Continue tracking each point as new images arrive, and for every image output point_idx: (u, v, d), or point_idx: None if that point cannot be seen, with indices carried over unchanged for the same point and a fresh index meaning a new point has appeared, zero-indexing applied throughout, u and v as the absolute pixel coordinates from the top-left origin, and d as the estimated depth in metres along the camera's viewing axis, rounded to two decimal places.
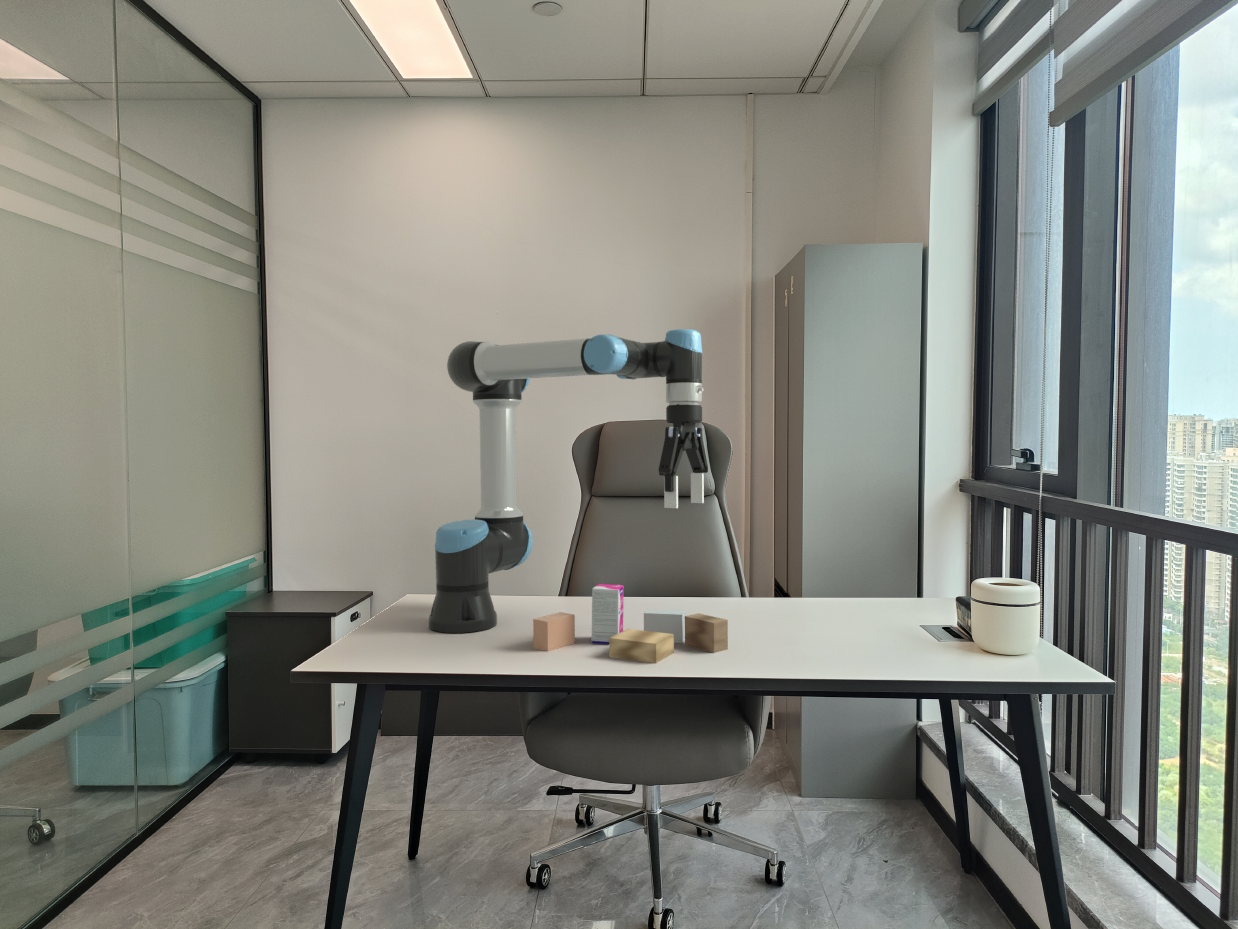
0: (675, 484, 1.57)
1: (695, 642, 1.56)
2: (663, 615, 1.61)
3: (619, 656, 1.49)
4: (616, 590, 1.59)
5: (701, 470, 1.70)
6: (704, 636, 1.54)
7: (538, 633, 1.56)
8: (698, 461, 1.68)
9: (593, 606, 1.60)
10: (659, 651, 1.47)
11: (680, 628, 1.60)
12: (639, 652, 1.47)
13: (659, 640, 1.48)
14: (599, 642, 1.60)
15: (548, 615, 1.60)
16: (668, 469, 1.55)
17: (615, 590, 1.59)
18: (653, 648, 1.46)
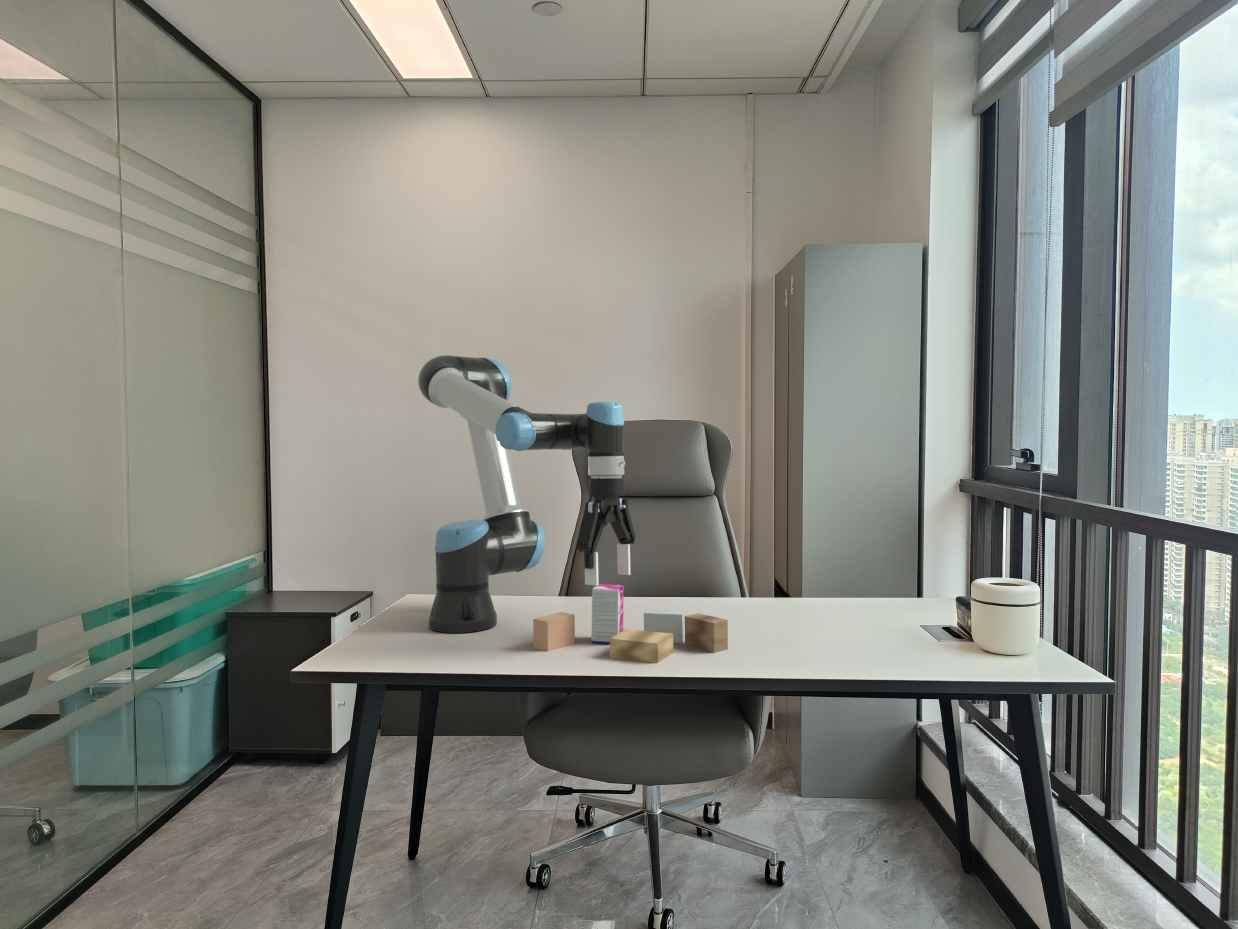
0: (595, 561, 1.55)
1: (695, 642, 1.56)
2: (663, 615, 1.61)
3: (620, 656, 1.49)
4: (616, 590, 1.59)
5: (627, 541, 1.67)
6: (704, 636, 1.54)
7: (538, 633, 1.56)
8: (623, 533, 1.66)
9: (593, 606, 1.60)
10: (660, 651, 1.47)
11: (680, 628, 1.60)
12: (640, 652, 1.47)
13: (660, 640, 1.48)
14: (599, 642, 1.60)
15: (548, 615, 1.60)
16: (586, 547, 1.52)
17: (615, 590, 1.59)
18: (654, 648, 1.46)
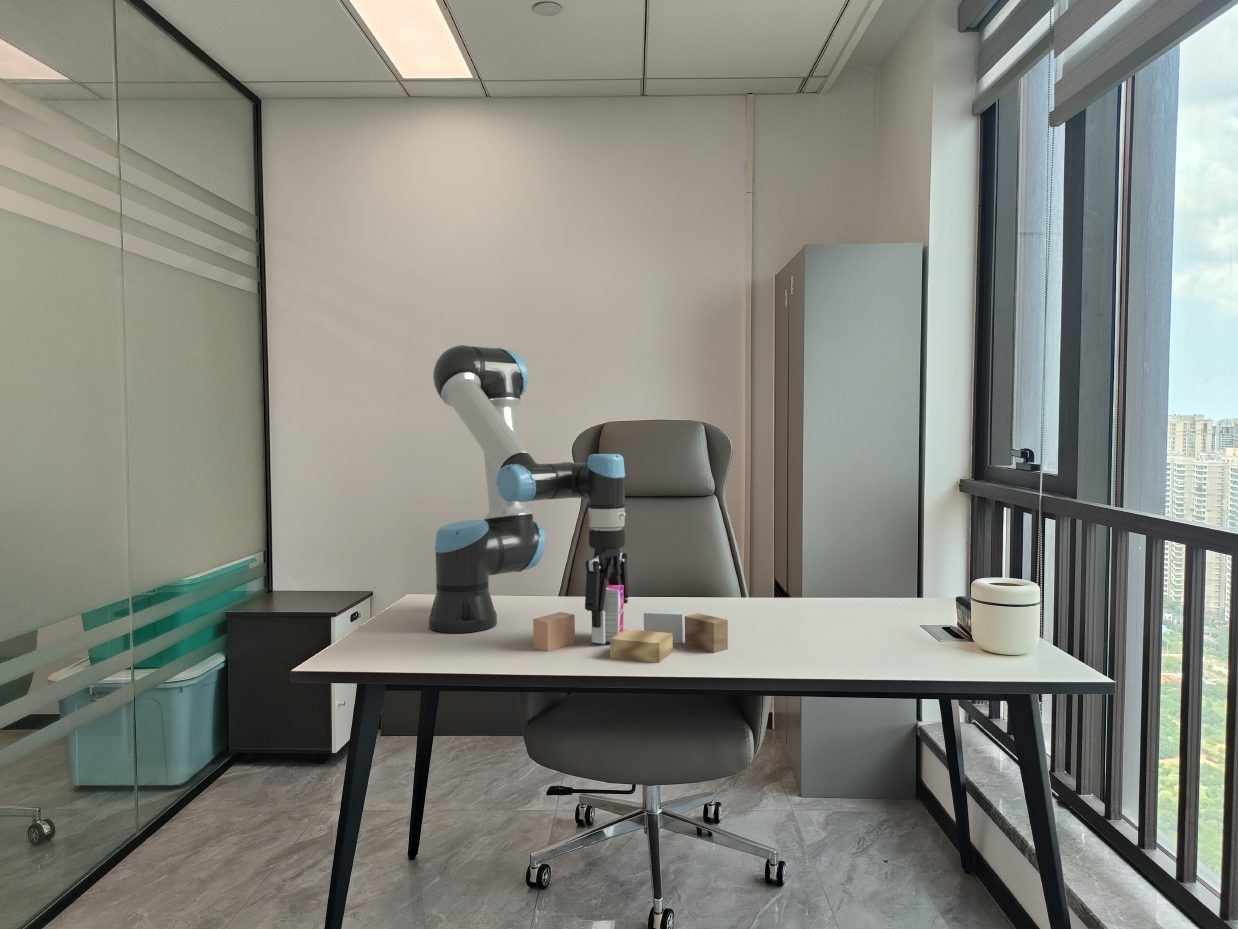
0: (602, 620, 1.58)
1: (695, 642, 1.56)
2: (663, 615, 1.61)
3: (620, 657, 1.49)
4: (616, 590, 1.59)
5: None
6: (704, 636, 1.54)
7: (538, 633, 1.56)
8: None
9: None
10: (661, 651, 1.47)
11: (680, 628, 1.60)
12: (641, 652, 1.47)
13: (661, 640, 1.48)
14: None
15: (548, 615, 1.60)
16: (594, 608, 1.55)
17: (615, 590, 1.59)
18: (656, 647, 1.46)
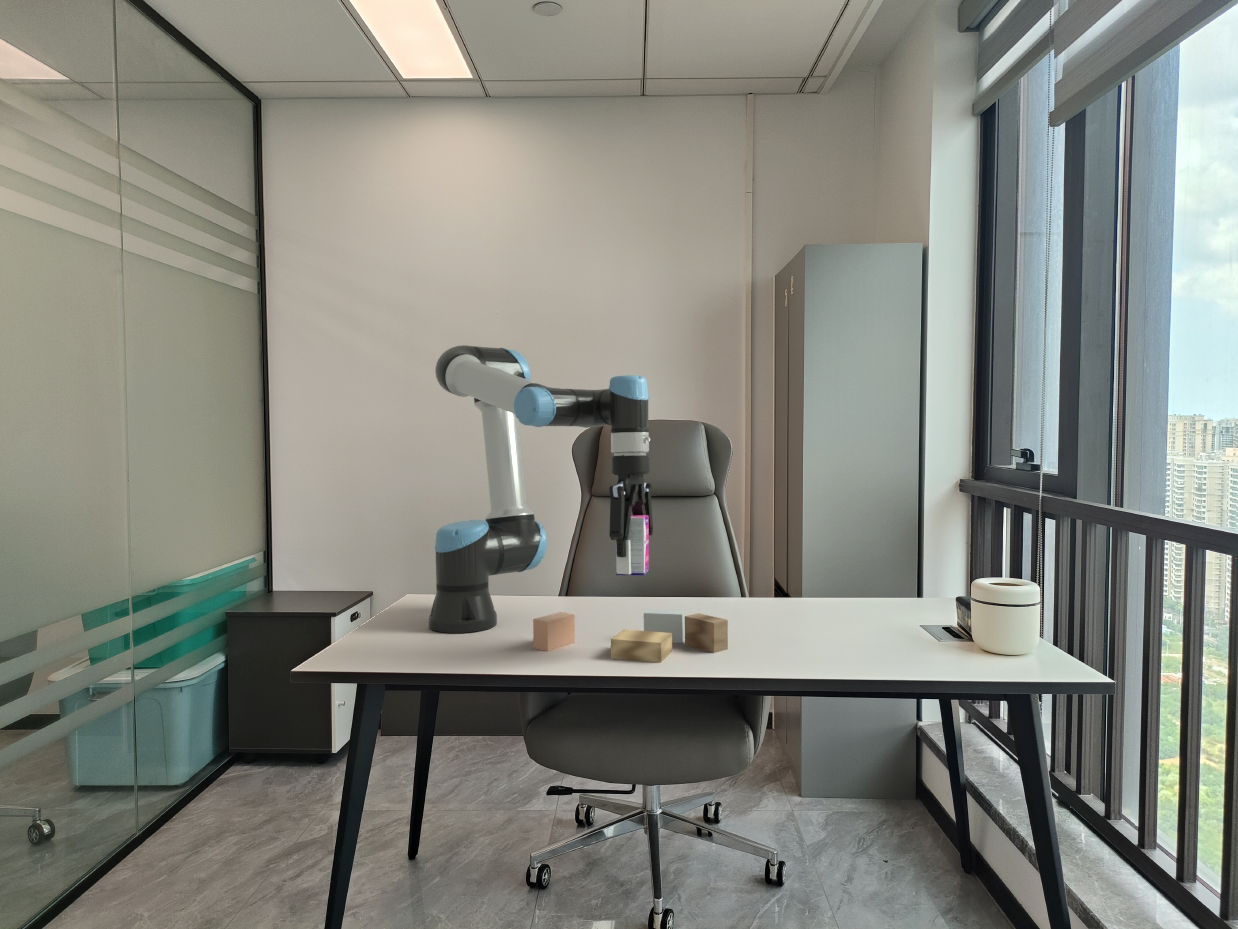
0: (627, 549, 1.50)
1: (695, 642, 1.56)
2: (663, 615, 1.61)
3: (621, 657, 1.49)
4: (641, 518, 1.51)
5: None
6: (704, 636, 1.54)
7: (538, 633, 1.56)
8: None
9: None
10: (663, 650, 1.47)
11: (680, 628, 1.60)
12: (642, 652, 1.47)
13: (662, 639, 1.49)
14: None
15: (548, 615, 1.60)
16: (619, 535, 1.47)
17: (640, 518, 1.51)
18: (657, 647, 1.46)
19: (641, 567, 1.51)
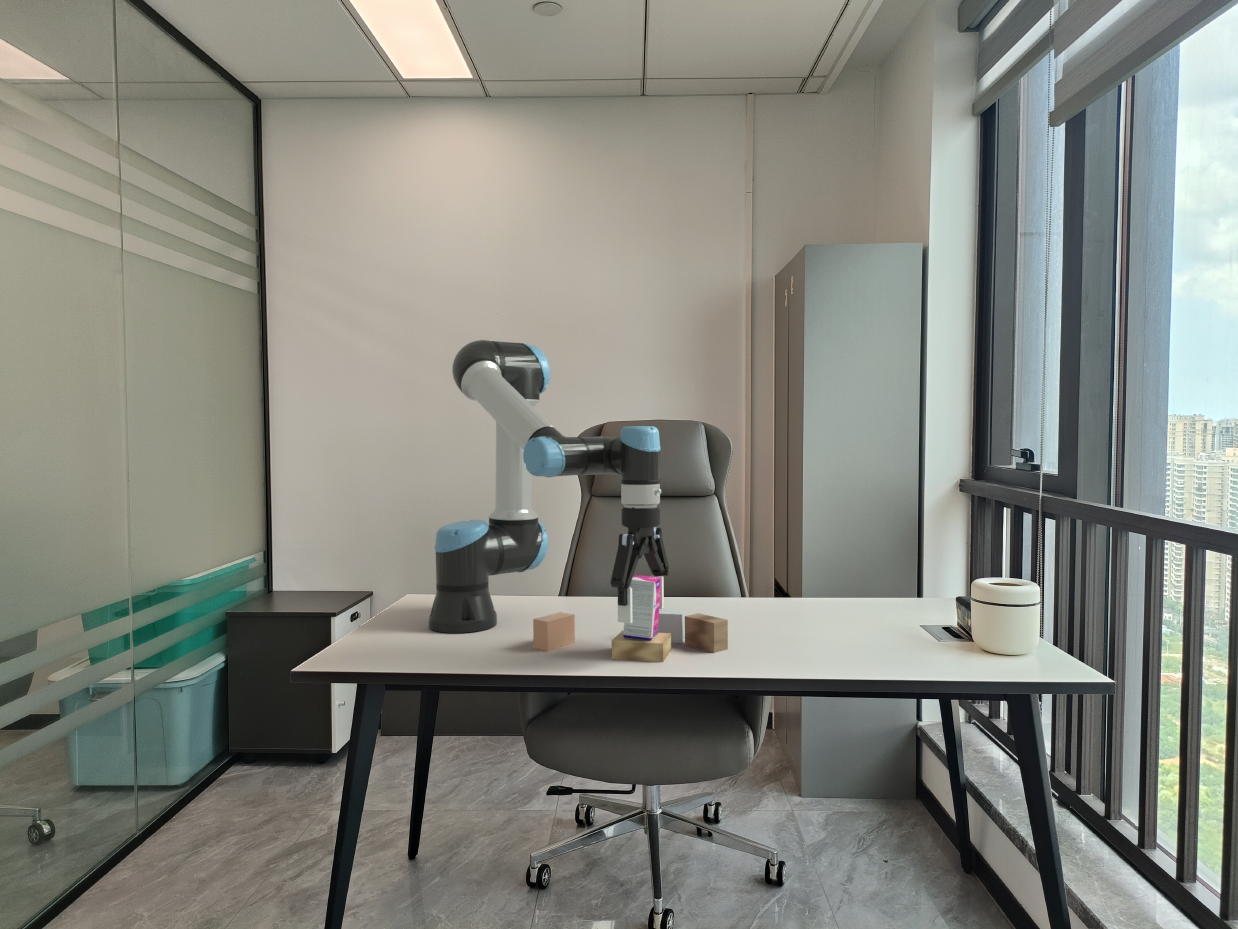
0: (629, 597, 1.44)
1: (695, 642, 1.56)
2: (663, 615, 1.61)
3: (623, 658, 1.48)
4: (652, 582, 1.48)
5: (661, 573, 1.57)
6: (704, 636, 1.54)
7: (538, 633, 1.56)
8: (657, 564, 1.55)
9: None
10: (664, 651, 1.48)
11: (680, 628, 1.60)
12: (644, 653, 1.47)
13: (663, 640, 1.49)
14: (631, 637, 1.49)
15: (548, 615, 1.60)
16: (620, 583, 1.42)
17: (651, 582, 1.48)
18: (659, 648, 1.47)
19: (649, 632, 1.48)
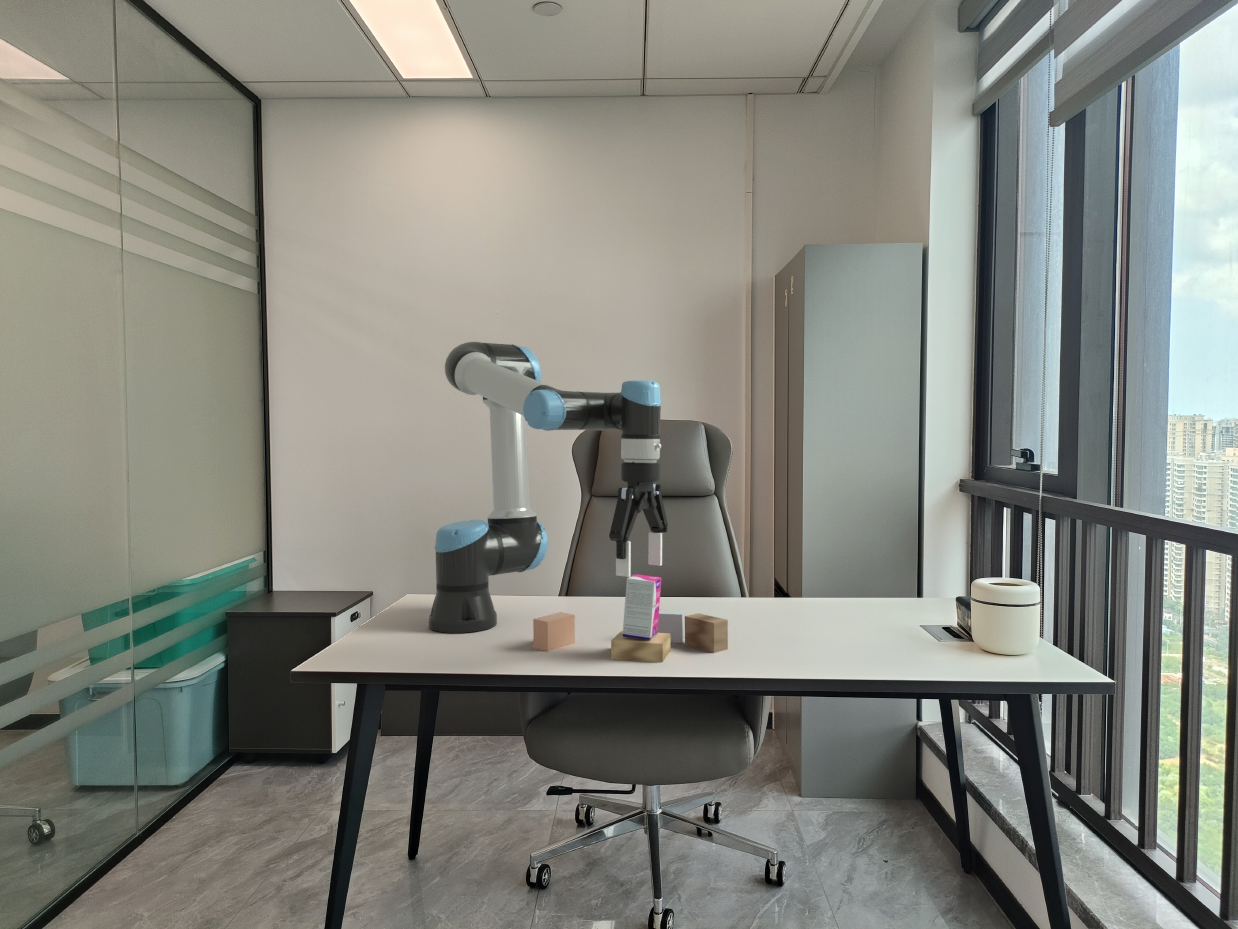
0: (627, 551, 1.44)
1: (695, 642, 1.56)
2: (663, 615, 1.61)
3: (622, 658, 1.48)
4: (652, 582, 1.48)
5: (660, 530, 1.57)
6: (704, 636, 1.54)
7: (538, 633, 1.56)
8: (656, 521, 1.55)
9: (626, 597, 1.49)
10: (664, 651, 1.48)
11: (680, 628, 1.60)
12: (643, 653, 1.47)
13: (662, 640, 1.49)
14: (630, 636, 1.49)
15: (548, 615, 1.60)
16: (619, 536, 1.42)
17: (651, 582, 1.48)
18: (659, 648, 1.46)
19: (648, 632, 1.48)
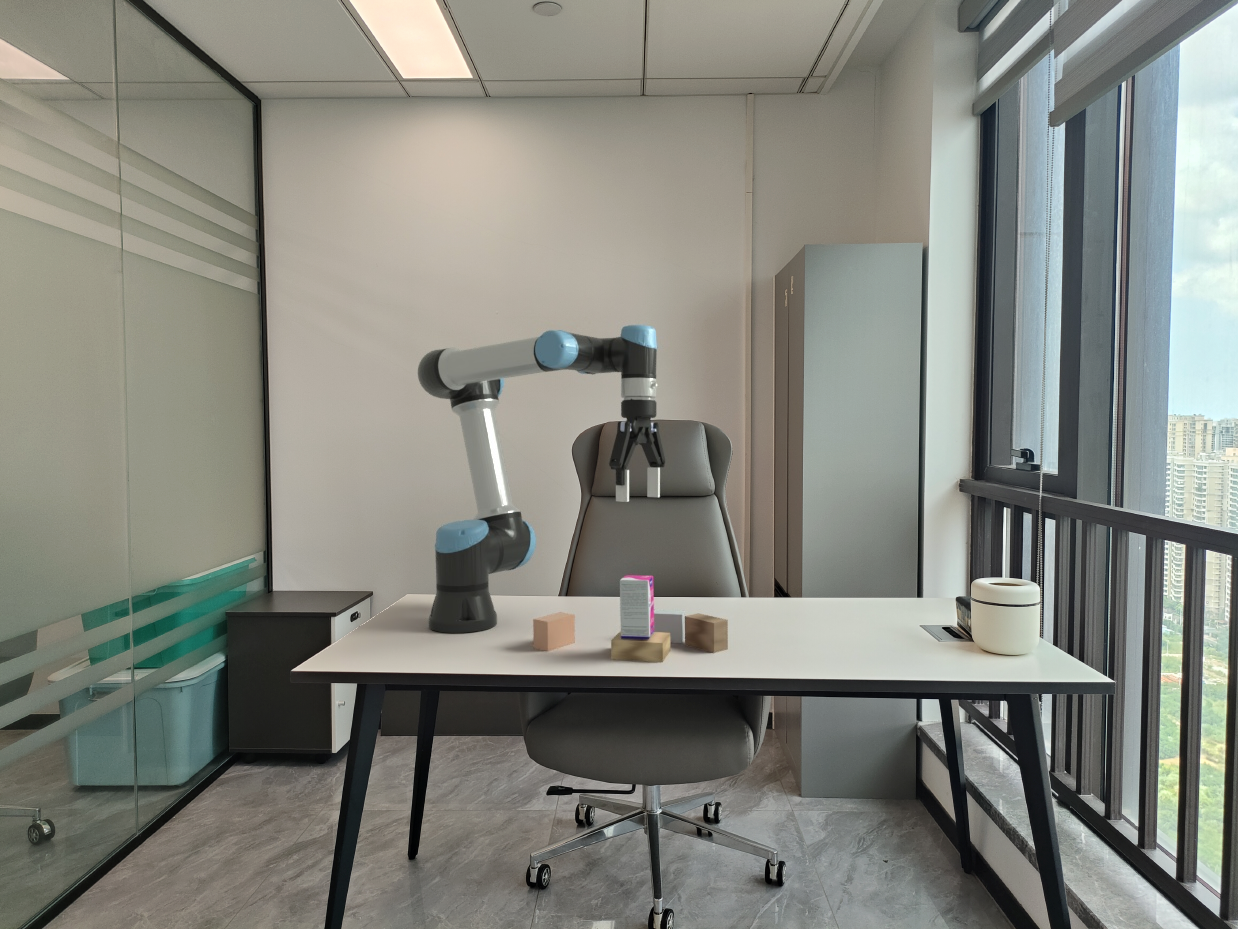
0: (626, 478, 1.59)
1: (695, 642, 1.56)
2: (663, 615, 1.61)
3: (622, 658, 1.48)
4: (645, 581, 1.48)
5: (657, 464, 1.71)
6: (704, 636, 1.54)
7: (538, 633, 1.56)
8: (654, 456, 1.70)
9: (621, 599, 1.49)
10: (664, 651, 1.48)
11: (680, 628, 1.60)
12: (643, 653, 1.47)
13: (662, 639, 1.49)
14: (629, 637, 1.49)
15: (548, 615, 1.60)
16: (618, 463, 1.57)
17: (644, 581, 1.48)
18: (659, 647, 1.47)
19: (646, 631, 1.48)
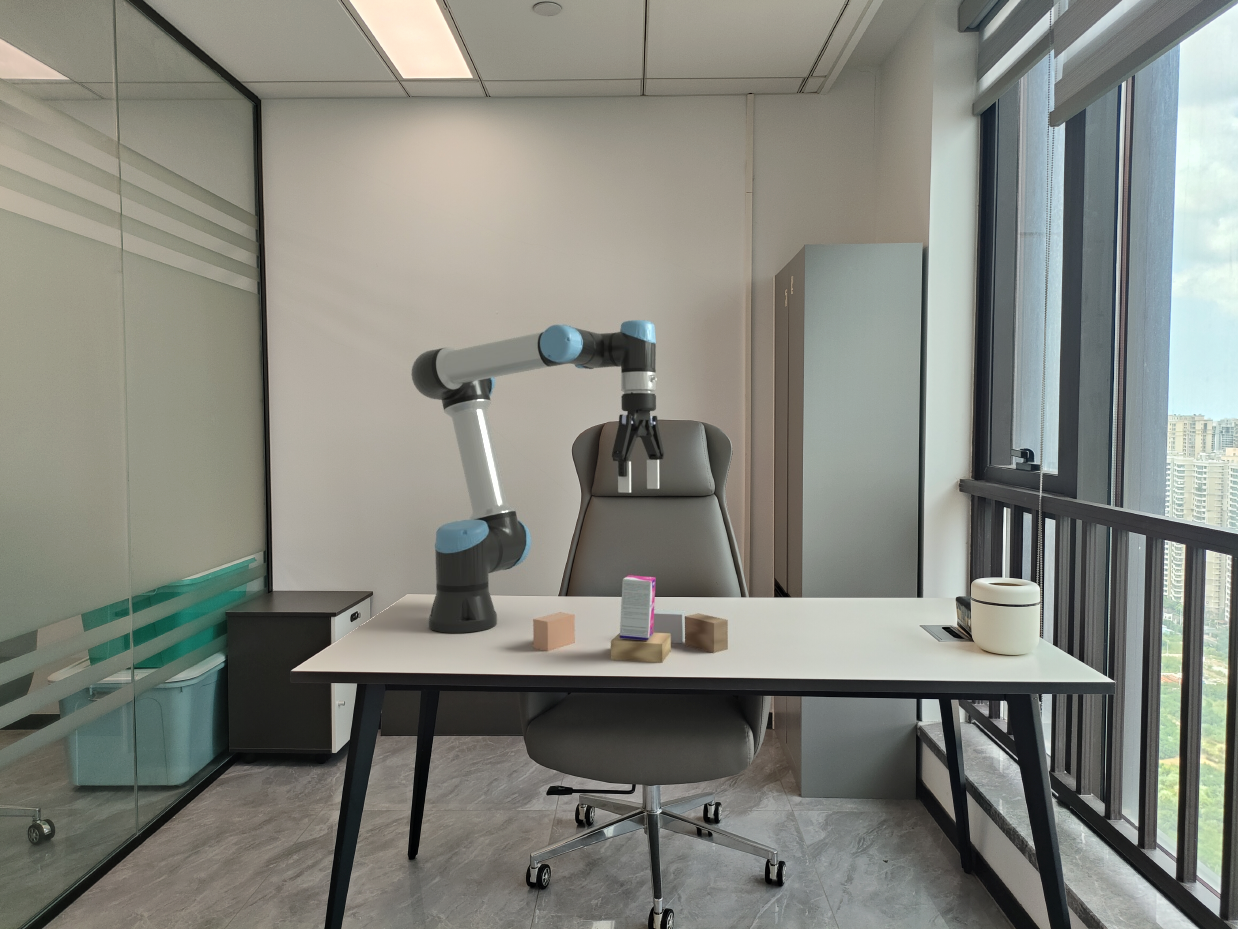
0: (628, 469, 1.63)
1: (695, 642, 1.56)
2: (663, 615, 1.61)
3: (622, 659, 1.48)
4: (648, 581, 1.48)
5: (657, 457, 1.75)
6: (704, 636, 1.54)
7: (538, 633, 1.56)
8: (653, 448, 1.74)
9: (623, 598, 1.49)
10: (663, 651, 1.47)
11: (680, 628, 1.60)
12: (643, 653, 1.47)
13: (662, 640, 1.48)
14: (628, 637, 1.48)
15: (548, 615, 1.60)
16: (621, 455, 1.60)
17: (647, 581, 1.48)
18: (658, 648, 1.46)
19: (646, 632, 1.48)
